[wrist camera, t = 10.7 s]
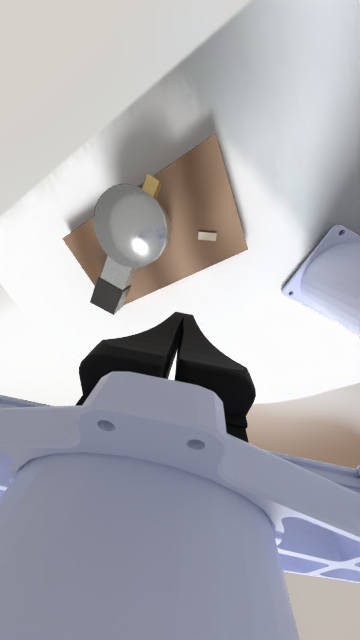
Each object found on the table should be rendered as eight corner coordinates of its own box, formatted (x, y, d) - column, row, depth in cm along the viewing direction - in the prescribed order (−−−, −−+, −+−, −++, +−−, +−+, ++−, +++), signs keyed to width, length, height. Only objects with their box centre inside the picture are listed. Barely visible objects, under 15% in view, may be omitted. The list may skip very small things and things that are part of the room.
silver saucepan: (128, 162, 14) (110, 146, 11) (188, 204, 15) (186, 198, 12) (90, 286, 20) (73, 295, 17) (135, 312, 21) (126, 323, 18)
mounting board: (244, 248, 19) (250, 250, 16) (116, 306, 24) (108, 313, 22) (214, 142, 15) (216, 126, 13) (71, 238, 20) (55, 238, 18)
